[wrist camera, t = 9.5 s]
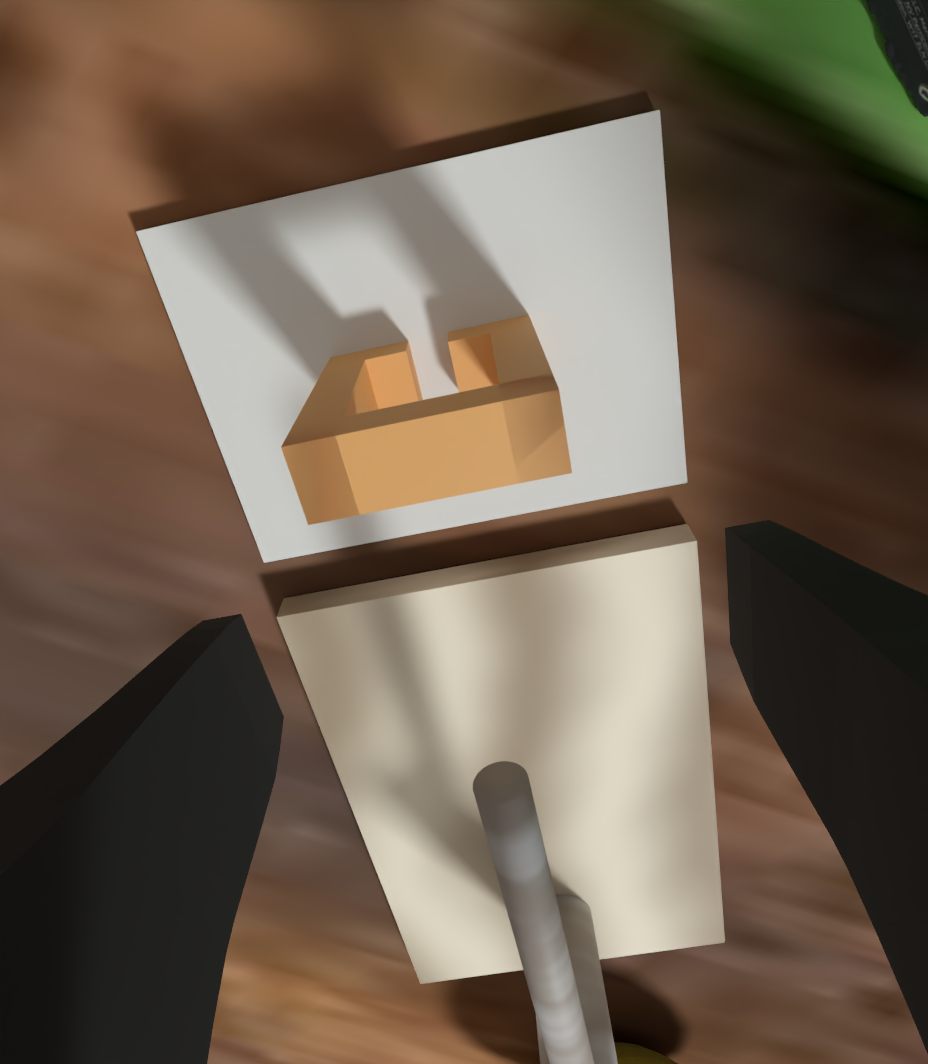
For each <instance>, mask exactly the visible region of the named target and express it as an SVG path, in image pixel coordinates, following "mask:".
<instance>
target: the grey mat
mask: <svg viewBox="0 0 928 1064" xmlns="http://www.w3.org/2000/svg"><path fill="white" fill-rule="evenodd" d="M136 233H137V235H138V238H139V241H140V243H141V246H142V248H143V251H144V254H145V256H146V259H147V261H148V264H149V266H150V269H151V272H152V274H153V277H154V279H155V282H156V285H157V287H158V290H159V292H160V295H161V297H162V300H163V303H164V305H165V308H166V310H167V313H168V316H169V318H170V321H171V323H172V326H173V329H174V331H175V334H176V336H177V339H178V341H179V344H180V347H181V349H182V352H183V354H184V357H185V360H186V362H187V365H188V367H189V370H190V372H191V375H192V378H193V380H194V383H195V385H196V388H197V391H198V393H199V396H200V398H201V401H202V403H203V406H204V409H205V411H206V414H207V416H208V419H209V422H210V424H211V427H212V429H213V432H214V435H215V437H216V440H217V442H218V445H219V447H220V450H221V453H222V455H223V458H224V460H225V463H226V466H227V468H228V471H229V473H230V476H231V478H232V481H233V484H234V486H235V489H236V491H237V494H238V497H239V499H240V502H241V504H242V507H243V509H244V512H245V515H246V517H247V520H248V522H249V525H250V528H251V530H252V533H253V535H254V538H255V541H256V543H257V546H258V548H259V551H260V553H261V556H262V559H263V561H264V563H265V562H271V561H276V560H281V559H287V558H292V557H297V556H302V555H308V554H313V553H318V552H323V551H329V550H334V549H339V548H345V547H350V546H355V545H360V544H366V543H371V542H376V541H382V540H387V539H392V538H397V537H403V536H408V535H413V534H419V533H424V532H429V531H434V530H440V529H445V528H450V527H456V526H461V525H466V524H471V523H477V522H482V521H487V520H493V519H498V518H503V517H508V516H514V515H519V514H524V513H529V512H535V511H540V510H545V509H551V508H556V507H561V506H566V505H572V504H577V503H582V502H588V501H593V500H598V499H603V498H609V497H614V496H619V495H625V494H630V493H635V492H640V491H646V490H651V489H656V488H662V487H667V486H672V485H677V484H683V483H687V472H686V458H685V445H684V431H683V417H682V404H681V390H680V377H679V363H678V349H677V336H676V322H675V309H674V295H673V281H672V268H671V254H670V241H669V227H668V213H667V200H666V186H665V172H664V159H663V145H662V132H661V118H660V110H655V111H650V112H646V113H642V114H638V115H633V116H629V117H625V118H620V119H616V120H612V121H607V122H603V123H599V124H595V125H590V126H586V127H582V128H577V129H573V130H569V131H564V132H560V133H556V134H552V135H547V136H543V137H539V138H534V139H530V140H526V141H521V142H517V143H513V144H509V145H504V146H500V147H496V148H491V149H487V150H483V151H478V152H474V153H470V154H466V155H461V156H457V157H453V158H448V159H444V160H440V161H435V162H431V163H427V164H423V165H418V166H414V167H410V168H405V169H401V170H397V171H392V172H388V173H384V174H380V175H375V176H371V177H367V178H362V179H358V180H354V181H349V182H345V183H341V184H337V185H332V186H328V187H324V188H319V189H315V190H311V191H306V192H302V193H298V194H294V195H289V196H285V197H281V198H276V199H272V200H268V201H263V202H259V203H255V204H251V205H246V206H242V207H238V208H233V209H229V210H225V211H220V212H216V213H212V214H208V215H203V216H199V217H195V218H190V219H186V220H182V221H177V222H173V223H169V224H165V225H160V226H156V227H152V228H147V229H143V230H140V231H137V232H136ZM528 314H529V317H530V319H531V321H532V324H533V326H534V329H535V331H536V334H537V336H538V339H539V341H540V344H541V346H542V349H543V351H544V353H545V356H546V358H547V361H548V363H549V366H550V368H551V371H552V373H553V376H554V378H555V381H556V383H557V385H558V388H559V392H560V398H561V405H562V411H563V417H564V424H565V430H566V437H567V443H568V449H569V456H570V462H571V468H572V473H570V474H565V475H560V476H555V477H550V478H544V479H539V480H534V481H529V482H524V483H519V484H514V485H509V486H504V487H499V488H494V489H489V490H484V491H479V492H473V493H468V494H463V495H458V496H453V497H448V498H443V499H438V500H433V501H428V502H423V503H418V504H413V505H408V506H403V507H397V508H392V509H387V510H382V511H377V512H372V513H367V514H362V515H357V516H352V517H347V518H342V519H337V520H332V521H326V522H321V523H316V524H311V525H308V523H307V520H306V517H305V514H304V512H303V509H302V506H301V503H300V500H299V497H298V495H297V492H296V489H295V486H294V483H293V480H292V477H291V475H290V472H289V469H288V466H287V463H286V460H285V457H284V455H283V452H282V449H281V446H282V444H283V442H284V441H285V439H286V437H287V435H288V433H289V432H290V430H291V428H292V426H293V424H294V422H295V421H296V419H297V417H298V415H299V413H300V411H301V410H302V408H303V406H304V404H305V402H306V401H307V399H308V397H309V395H310V393H311V391H312V390H313V388H314V386H315V384H316V382H317V381H318V379H319V377H320V375H321V373H322V371H323V370H324V368H325V366H326V364H327V362H328V361H329V359H330V357H335V356H340V355H344V354H349V353H353V352H358V351H363V350H367V349H372V348H376V347H381V346H386V345H390V344H395V343H399V342H404V341H409V345H410V349H411V353H412V357H413V361H414V365H415V369H416V373H417V377H418V381H419V385H420V389H421V393H422V398H423V400H426V399H430V398H435V397H440V396H445V395H449V394H454V393H459V390H458V386H457V381H456V377H455V372H454V368H453V363H452V359H451V354H450V350H449V345H448V332H450V331H455V330H459V329H464V328H468V327H473V326H478V325H482V324H487V323H491V322H496V321H501V320H505V319H510V318H515V317H519V316H524V315H528Z"/></svg>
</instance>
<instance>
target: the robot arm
mask: <svg viewBox="0 0 928 1064" xmlns="http://www.w3.org/2000/svg"><path fill="white" fill-rule="evenodd" d="M725 535H726V557H727V579H728V601H729V623H730V644H731V646H732V649H733V651H734V654H735V656H736V659H737V662H738V664H739V667H740V669H741V672H742V674H743V677H744V679H745V682H746V684H747V686H748V689H749V691H750V693H751V696H752V698H753V701H754V703H755V705H756V706H757V708H758V710H759V712H760V714H761V715H762V717H763V719H764V721H765V722H766V724H767V726H768V728H769V729H770V731H771V733H772V735H773V737H774V738H775V740H776V742H777V744H778V745H779V747H780V749H781V751H782V752H783V754H784V756H785V757H786V759H787V761H788V763H789V764H790V766H791V768H792V770H793V771H794V773H795V775H796V777H797V778H798V780H799V782H800V783H801V785H802V787H803V789H804V790H805V792H806V794H807V796H808V797H809V799H810V801H811V803H812V804H813V806H814V808H815V809H816V811H817V813H818V815H819V816H820V818H821V820H822V822H823V823H824V825H825V827H826V828H827V830H828V832H829V834H830V836H831V837H832V839H833V841H834V843H835V845H836V847H837V849H838V851H839V853H840V855H841V857H842V859H843V860H844V862H845V864H846V866H847V868H848V871H849V873H850V875H851V877H852V879H853V882H854V884H855V886H856V888H857V891H858V893H859V895H860V897H861V899H862V902H863V904H864V906H865V908H866V911H867V913H868V915H869V917H870V920H871V922H872V924H873V926H874V928H875V931H876V933H877V935H878V937H879V940H880V942H881V944H882V947H883V949H884V951H885V954H886V956H887V958H888V961H889V963H890V965H891V968H892V970H893V972H894V975H895V977H896V979H897V982H898V984H899V986H900V989H901V991H902V993H903V996H904V998H905V1000H906V1003H907V1005H908V1007H909V1010H910V1012H911V1014H912V1017H913V1019H914V1021H915V1024H916V1026H917V1029H918V1031H919V1034H920V1036H921V1039H922V1041H923V1044H924V1046H925V1049H926V1051H927V1053H928V596H927V595H925V594H923V593H920V592H918V591H916V590H913V589H911V588H909V587H907V586H904V585H902V584H900V583H898V582H896V581H893V580H891V579H889V578H887V577H885V576H883V575H881V574H878V573H876V572H874V571H872V570H870V569H868V568H866V567H864V566H862V565H860V564H858V563H856V562H854V561H852V560H850V559H848V558H846V557H844V556H842V555H840V554H838V553H836V552H834V551H832V550H830V549H828V548H826V547H824V546H822V545H820V544H818V543H816V542H814V541H812V540H810V539H808V538H806V537H804V536H802V535H800V534H798V533H796V532H794V531H792V530H790V529H788V528H786V527H784V526H781V525H779V524H777V523H775V522H772V521H770V520H767V521H762V522H756V523H750V524H745V525H739V526H734V527H728V528H725ZM283 718H284V717H283V714H282V712H281V709H280V707H279V705H278V702H277V700H276V697H275V695H274V692H273V690H272V688H271V685H270V683H269V680H268V678H267V675H266V673H265V671H264V668H263V666H262V663H261V661H260V658H259V656H258V654H257V651H256V649H255V646H254V644H253V641H252V639H251V637H250V634H249V632H248V629H247V627H246V624H245V622H244V620H243V617H242V615H241V614H238V615H233V616H227V617H221V618H216V619H210V620H204V621H202V622H200V623H199V624H198V625H196V626H195V627H193V628H192V629H191V630H189V631H188V632H187V633H185V634H184V635H183V636H182V637H181V638H179V639H178V640H177V641H176V642H174V643H173V644H172V645H171V646H170V647H169V648H167V649H166V650H165V651H164V652H163V653H162V654H160V655H159V656H158V657H157V658H156V659H155V660H153V661H152V662H151V663H150V664H149V665H148V666H147V667H145V668H144V669H143V670H142V671H141V672H140V673H139V674H137V675H136V676H135V677H134V678H133V679H132V680H131V681H129V682H128V683H127V684H126V685H125V686H124V687H123V688H121V689H120V690H119V691H118V692H117V693H116V694H114V695H113V696H112V697H111V698H110V699H109V700H108V701H106V702H105V703H104V704H103V705H102V706H101V707H99V708H98V709H97V710H96V711H95V712H93V713H92V714H91V715H90V716H89V717H87V718H86V719H85V720H84V721H82V722H81V723H80V724H79V725H77V726H76V727H75V728H74V729H73V730H71V731H70V732H69V733H68V734H66V735H65V736H64V737H63V738H61V739H60V740H59V741H58V742H57V743H55V744H54V745H53V746H52V747H50V748H49V749H48V750H47V751H46V752H44V753H43V754H42V755H41V756H39V757H38V758H37V759H35V760H34V761H33V762H32V763H30V764H29V765H28V766H26V767H25V768H24V769H22V770H21V771H20V772H18V773H17V774H16V775H14V776H13V777H11V778H10V779H9V780H7V781H6V782H5V783H3V784H2V785H0V1064H207V1060H208V1054H209V1047H210V1041H211V1035H212V1028H213V1022H214V1017H215V1011H216V1006H217V1000H218V995H219V990H220V984H221V979H222V973H223V968H224V962H225V957H226V952H227V948H228V944H229V940H230V935H231V931H232V927H233V923H234V919H235V916H236V912H237V909H238V905H239V902H240V899H241V895H242V892H243V888H244V885H245V882H246V878H247V875H248V871H249V868H250V864H251V861H252V858H253V854H254V851H255V847H256V844H257V841H258V837H259V834H260V830H261V827H262V823H263V820H264V816H265V813H266V809H267V806H268V802H269V799H270V795H271V791H272V788H273V784H274V780H275V776H276V770H277V763H278V757H279V751H280V743H281V734H282V726H283Z"/></svg>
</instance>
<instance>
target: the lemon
mask: <svg viewBox="0 0 928 1064" xmlns="http://www.w3.org/2000/svg"><path fill="white" fill-rule="evenodd" d="M614 1045H615V1051H616V1056H617V1062H618V1064H678V1063H676V1062H674V1061H673V1060H671V1059H669V1058H667V1057H665V1056H664V1055H662V1054H660V1053H657V1052H655V1051H652V1050H650V1049H647V1048H644V1047H642V1046H639V1045H636V1044H629V1043H623V1042H619V1043H614Z"/></svg>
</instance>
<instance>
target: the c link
mask: <svg viewBox="0 0 928 1064" xmlns="http://www.w3.org/2000/svg"><path fill="white" fill-rule="evenodd" d="M448 345H449V350H450V354H451V359H452V363H453V368H454V372H455V377H456V381H457V386H458V390H459V393H454V394H449V395H445V396H440V397H435V398H430V399H426V400H423V398H422V393H421V389H420V385H419V381H418V377H417V373H416V369H415V365H414V361H413V357H412V353H411V349H410V345H409V341H404V342H399V343H395V344H390V345H386V346H381V347H376V348H372V349H367V350H363V351H358V352H353V353H349V354H344V355H340V356H335V357H330V359H329V361H328V362H327V364H326V366H325V368H324V370H323V371H322V373H321V375H320V377H319V379H318V381H317V382H316V384H315V386H314V388H313V390H312V391H311V393H310V395H309V397H308V399H307V401H306V402H305V404H304V406H303V408H302V410H301V411H300V413H299V415H298V417H297V419H296V421H295V422H294V424H293V426H292V428H291V430H290V432H289V433H288V435H287V437H286V439H285V441H284V442H283V444H282V446H281V449H282V452H283V455H284V457H285V460H286V463H287V466H288V469H289V472H290V475H291V477H292V480H293V483H294V486H295V489H296V492H297V495H298V497H299V500H300V503H301V506H302V509H303V512H304V514H305V517H306V520H307V523H308V525H311V524H316V523H321V522H326V521H332V520H337V519H342V518H347V517H352V516H357V515H362V514H367V513H372V512H377V511H382V510H387V509H392V508H397V507H403V506H408V505H413V504H418V503H423V502H428V501H433V500H438V499H443V498H448V497H453V496H458V495H463V494H468V493H473V492H479V491H484V490H489V489H494V488H499V487H504V486H509V485H514V484H519V483H524V482H529V481H534V480H539V479H544V478H550V477H555V476H560V475H565V474H570V473H572V468H571V462H570V456H569V449H568V443H567V437H566V430H565V424H564V417H563V411H562V405H561V398H560V392H559V388H558V385H557V383H556V381H555V378H554V376H553V373H552V371H551V368H550V366H549V363H548V361H547V358H546V356H545V353H544V351H543V349H542V346H541V344H540V341H539V339H538V336H537V334H536V331H535V329H534V326H533V324H532V321H531V319H530V317H529V314H528V315H524V316H519V317H515V318H510V319H505V320H501V321H496V322H491V323H487V324H482V325H478V326H473V327H468V328H464V329H459V330H455V331H450V332H448Z"/></svg>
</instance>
